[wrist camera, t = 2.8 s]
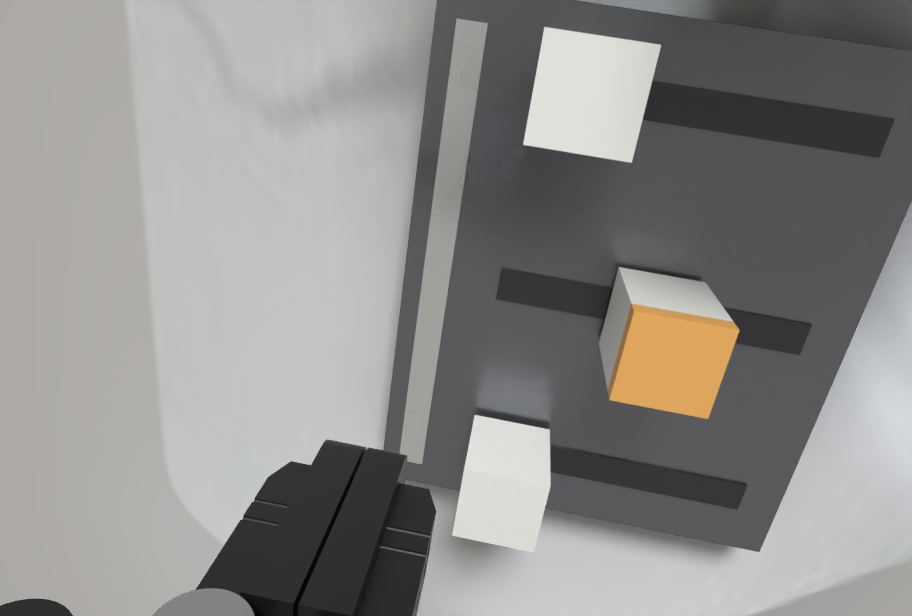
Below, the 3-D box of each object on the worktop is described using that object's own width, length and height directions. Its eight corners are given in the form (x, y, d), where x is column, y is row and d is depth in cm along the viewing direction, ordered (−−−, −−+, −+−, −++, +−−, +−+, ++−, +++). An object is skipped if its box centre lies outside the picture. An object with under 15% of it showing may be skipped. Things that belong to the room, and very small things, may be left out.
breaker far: (549, 429, 25) (550, 485, 21) (535, 490, 26) (533, 552, 22) (474, 414, 25) (464, 468, 22) (463, 476, 26) (451, 535, 23)
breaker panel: (934, 59, 20) (975, 60, 18) (745, 518, 28) (760, 553, 26) (448, -14, 21) (439, -21, 19) (391, 447, 29) (380, 475, 27)
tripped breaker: (705, 282, 22) (739, 330, 18) (680, 358, 23) (708, 418, 19) (618, 267, 22) (634, 310, 18) (598, 343, 23) (609, 400, 19)
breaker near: (642, 46, 19) (661, 44, 16) (617, 145, 20) (631, 162, 17) (544, 31, 19) (544, 27, 16) (526, 130, 20) (523, 144, 17)
